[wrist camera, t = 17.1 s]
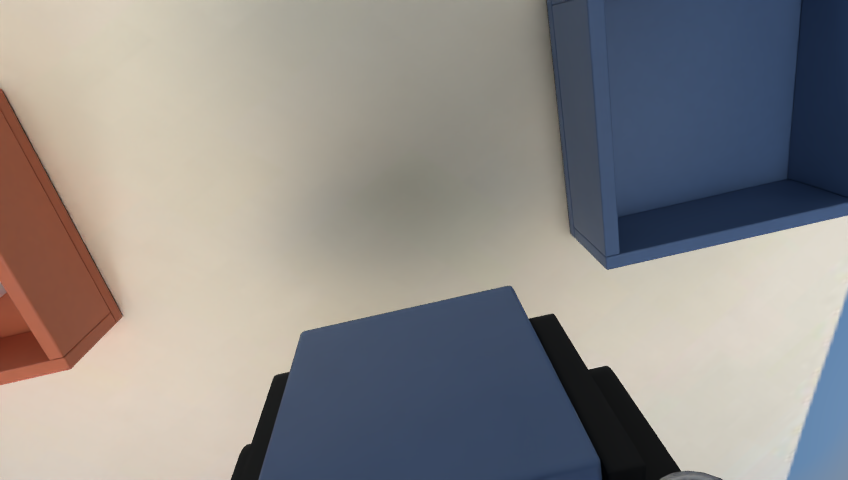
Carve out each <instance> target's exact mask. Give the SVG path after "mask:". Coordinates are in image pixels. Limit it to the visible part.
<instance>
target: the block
mask: <svg viewBox="0 0 848 480" xmlns="http://www.w3.org/2000/svg"><path fill="white" fill-rule="evenodd" d="M258 480H602V474H601V463H600V458H599V456H598V455H597V453H596V451H595V449H594V447H593V445H592V443H591V441H590V439H589V437H588V435H587V433H586V431H585V429H584V427H583V425H582V423H581V421H580V419H579V417H578V415H577V413H576V411H575V409H574V407H573V405H572V403H571V401H570V399H569V397H568V395H567V393H566V392H565V390H564V388H563V386H562V384H561V382H560V380H559V378H558V376H557V374H556V372H555V370H554V368H553V366H552V364H551V362H550V360H549V358H548V356H547V354H546V352H545V350H544V348H543V346H542V344H541V342H540V340H539V338H538V336H537V334H536V332H535V330H534V329H533V327H532V325H531V323H530V321H529V319H528V317H527V315H526V313H525V311H524V309H523V307H522V305H521V303H520V301H519V299H518V297H517V295H516V293H515V291H514V289H513V288H512V287H511V286H505V287H500V288H496V289H491V290H487V291H482V292H478V293H473V294H469V295H464V296H460V297H455V298H451V299H446V300H442V301H437V302H433V303H428V304H424V305H420V306H415V307H411V308H406V309H402V310H397V311H393V312H388V313H384V314H379V315H375V316H370V317H366V318H361V319H357V320H352V321H348V322H343V323H339V324H334V325H330V326H325V327H321V328H317V329H312V330H308V331H304V332H302V333H301V335H300V339H299V342H298V345H297V349H296V352H295V356H294V359H293V363H292V366H291V370H290V373H289V376H288V380H287V383H286V387H285V390H284V394H283V397H282V400H281V404H280V407H279V411H278V414H277V418H276V421H275V424H274V428H273V431H272V435H271V438H270V442H269V445H268V449H267V452H266V455H265V459H264V462H263V466H262V469H261V473H260V476H259V479H258Z"/></svg>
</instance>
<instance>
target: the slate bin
mask: <svg viewBox="0 0 848 480" xmlns="http://www.w3.org/2000/svg"><path fill="white" fill-rule="evenodd" d="M547 8H548V18H549V28H550V37H551V47H552V57H553V67H554V76H555V86H556V96H557V106H558V115H559V125H560V135H561V145H562V154H563V164H564V174H565V184H566V193H567V203H568V213H569V223H570V232H571V235H572V236H573V237H574V238H576V240H577V241H578V242H579V243H580V244H582V245H583V246H584V247H585V248H586V249H587V250H588V251H589V252H590V253H591V254H592V255H593V256H594V257H595V258H596V259H597V260H598V261H599V262H600V263H601V264H602V265H603V266H604V267H605V268H606V269H607V270H609V269H613V268H618V267H622V266H626V265H631V264H635V263H640V262H644V261H649V260H653V259H657V258H662V257H666V256H671V255H675V254H679V253H684V252H688V251H693V250H697V249H701V248H706V247H710V246H715V245H719V244H724V243H728V242H732V241H737V240H741V239H746V238H750V237H754V236H759V235H763V234H768V233H772V232H776V231H781V230H785V229H790V228H794V227H799V226H803V225H807V224H812V223H816V222H821V221H825V220H829V219H834V218H838V217H843V216H847V215H848V0H547Z"/></svg>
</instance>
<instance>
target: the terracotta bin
mask: <svg viewBox="0 0 848 480" xmlns="http://www.w3.org/2000/svg"><path fill="white" fill-rule="evenodd" d="M0 282H1V284H2V285H3V287H4V289H5V290H6V292H7V293H5V294H4V295H3V296H2V297H0V385H3V384H8V383H12V382H16V381H21V380H25V379H30V378H34V377H38V376H43V375H47V374H52V373H56V372H60V371H65V370H69V369H71V368H72V367H73V366H74V365H75V364H76V363H77V362H78V361H79V360H80V359H81V358H82V357H83V356H84V355H85V354H86V353H87V352H88V351H89V350H90V349H91V348H92V347H93V346H94V345H95V344H96V343H97V342H98V341H99V340H100V339H101V338H102V337H103V336H104V335H105V334H106V333H107V332H108V331H109V330H110V329H111V328H112V327H113V326H114V325H115V324H116V323H117V322H118V321H119V320H120V319H121V318H122V314H121V312H120V310H119V309H118V307H117V305H116V303H115V301H114V299H113V297H112V296H111V294H110V292H109V290H108V288H107V286H106V284H105V282H104V281H103V279H102V277H101V275H100V273H99V271H98V269H97V267H96V266H95V264H94V262H93V260H92V258H91V256H90V254H89V253H88V251H87V249H86V247H85V245H84V243H83V241H82V239H81V238H80V236H79V234H78V232H77V230H76V228H75V226H74V224H73V223H72V221H71V219H70V217H69V215H68V213H67V211H66V209H65V208H64V206H63V204H62V202H61V200H60V198H59V196H58V195H57V193H56V191H55V189H54V187H53V185H52V183H51V181H50V180H49V178H48V176H47V174H46V172H45V170H44V168H43V166H42V165H41V163H40V161H39V159H38V157H37V155H36V153H35V151H34V150H33V148H32V146H31V144H30V142H29V140H28V138H27V137H26V135H25V133H24V131H23V129H22V127H21V125H20V123H19V122H18V120H17V118H16V116H15V114H14V112H13V110H12V108H11V107H10V105H9V103H8V101H7V99H6V97H5V95H4V93H3V92H2V90H1V89H0Z"/></svg>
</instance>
